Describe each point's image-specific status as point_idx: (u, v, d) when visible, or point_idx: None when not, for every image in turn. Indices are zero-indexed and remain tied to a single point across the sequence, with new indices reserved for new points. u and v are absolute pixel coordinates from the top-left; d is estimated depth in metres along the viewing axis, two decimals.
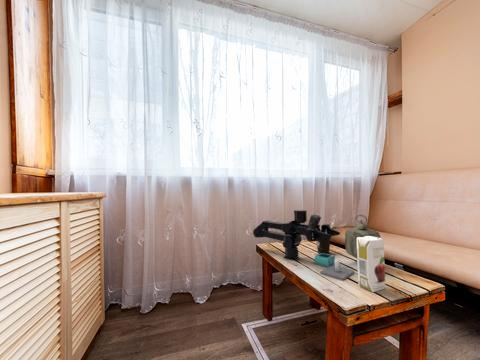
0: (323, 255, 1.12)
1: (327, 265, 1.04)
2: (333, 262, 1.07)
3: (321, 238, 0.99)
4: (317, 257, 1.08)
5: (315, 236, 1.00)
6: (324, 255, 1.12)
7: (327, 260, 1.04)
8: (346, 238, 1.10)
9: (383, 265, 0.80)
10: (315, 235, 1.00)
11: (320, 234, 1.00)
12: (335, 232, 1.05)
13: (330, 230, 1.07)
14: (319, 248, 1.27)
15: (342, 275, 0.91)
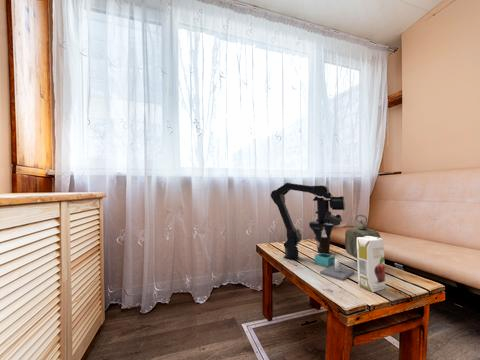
0: (323, 255, 1.12)
1: (327, 265, 1.04)
2: (333, 262, 1.07)
3: (315, 233, 1.07)
4: (317, 257, 1.08)
5: (315, 228, 1.06)
6: (324, 255, 1.12)
7: (327, 260, 1.04)
8: (346, 238, 1.10)
9: (383, 265, 0.80)
10: (316, 229, 1.05)
11: (318, 232, 1.05)
12: (328, 234, 1.12)
13: (330, 229, 1.12)
14: (319, 248, 1.27)
15: (342, 275, 0.91)
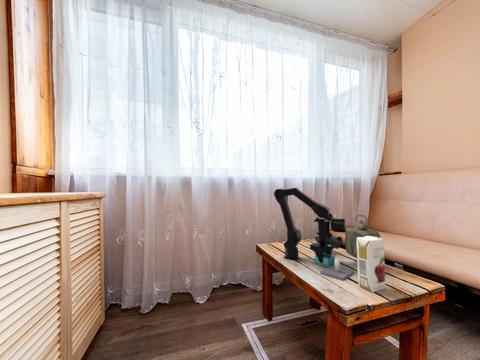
0: (323, 255, 1.12)
1: (327, 265, 1.04)
2: (333, 262, 1.07)
3: (317, 255, 1.07)
4: None
5: None
6: (324, 255, 1.12)
7: (327, 260, 1.04)
8: (346, 238, 1.10)
9: (383, 265, 0.80)
10: None
11: (320, 254, 1.06)
12: None
13: (330, 250, 1.11)
14: None
15: (342, 275, 0.91)
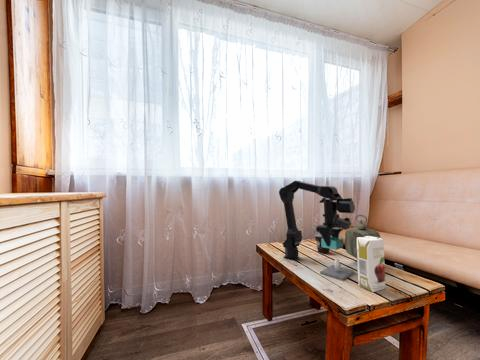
0: None
1: (335, 248, 0.97)
2: (341, 245, 1.00)
3: (323, 237, 1.00)
4: None
5: (323, 233, 0.99)
6: (331, 238, 1.05)
7: (335, 242, 0.97)
8: (346, 238, 1.10)
9: (383, 265, 0.80)
10: None
11: (327, 237, 0.98)
12: None
13: (337, 233, 1.04)
14: (319, 248, 1.27)
15: (342, 275, 0.91)
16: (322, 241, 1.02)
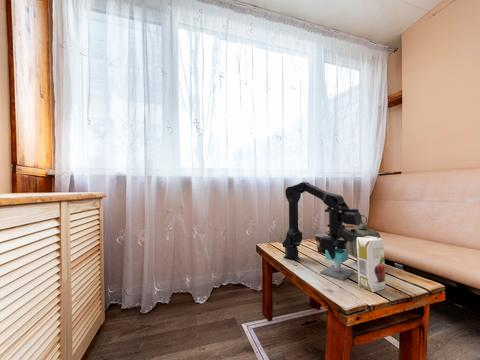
0: None
1: (340, 261, 0.92)
2: (346, 258, 0.95)
3: (328, 249, 0.94)
4: (328, 252, 0.96)
5: None
6: (336, 250, 0.99)
7: (340, 255, 0.92)
8: None
9: (383, 265, 0.80)
10: None
11: (332, 249, 0.93)
12: None
13: (342, 244, 0.99)
14: (319, 248, 1.27)
15: (342, 275, 0.91)
16: (326, 253, 0.96)
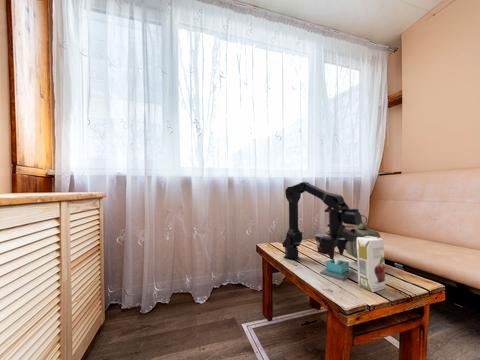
0: None
1: (340, 273, 0.91)
2: (347, 269, 0.95)
3: (327, 250, 0.94)
4: (328, 264, 0.96)
5: None
6: None
7: (340, 267, 0.92)
8: None
9: (383, 265, 0.80)
10: None
11: (331, 249, 0.93)
12: (341, 250, 0.99)
13: (343, 244, 0.99)
14: (319, 248, 1.27)
15: (342, 275, 0.91)
16: (327, 265, 0.96)
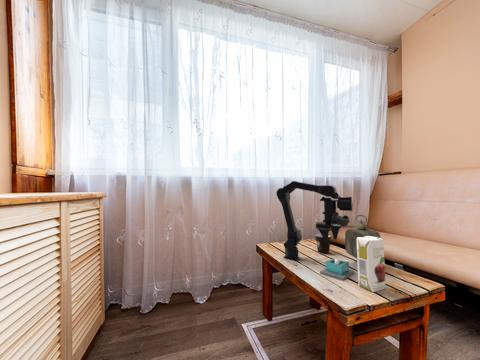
0: None
1: (340, 273, 0.91)
2: (347, 269, 0.95)
3: (322, 234, 1.05)
4: (328, 264, 0.96)
5: (322, 229, 1.04)
6: None
7: (340, 267, 0.92)
8: (346, 238, 1.10)
9: (383, 265, 0.80)
10: (323, 229, 1.03)
11: (325, 233, 1.04)
12: (335, 235, 1.10)
13: (337, 230, 1.10)
14: (319, 248, 1.27)
15: (342, 275, 0.91)
16: (327, 265, 0.96)
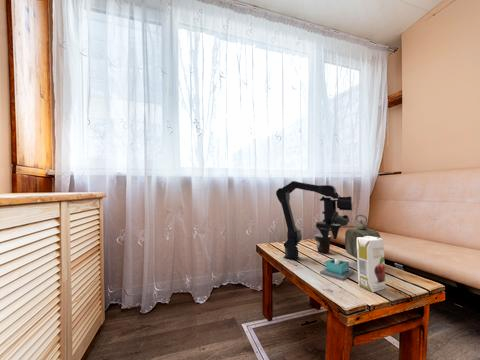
0: None
1: (340, 273, 0.91)
2: (347, 269, 0.95)
3: (322, 233, 1.05)
4: (328, 264, 0.96)
5: None
6: None
7: (340, 267, 0.92)
8: (346, 238, 1.10)
9: (383, 265, 0.80)
10: None
11: (325, 233, 1.04)
12: (335, 234, 1.11)
13: (336, 229, 1.11)
14: (319, 248, 1.27)
15: (342, 275, 0.91)
16: (327, 265, 0.96)
